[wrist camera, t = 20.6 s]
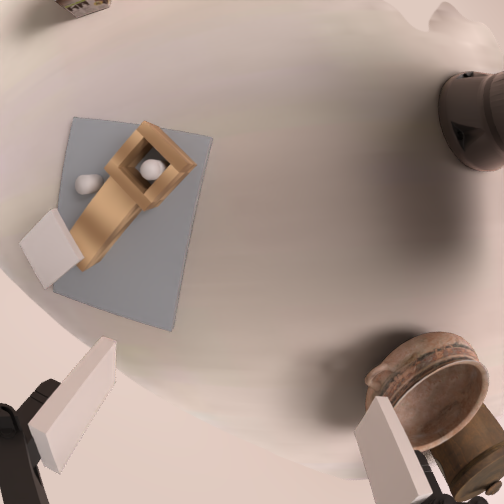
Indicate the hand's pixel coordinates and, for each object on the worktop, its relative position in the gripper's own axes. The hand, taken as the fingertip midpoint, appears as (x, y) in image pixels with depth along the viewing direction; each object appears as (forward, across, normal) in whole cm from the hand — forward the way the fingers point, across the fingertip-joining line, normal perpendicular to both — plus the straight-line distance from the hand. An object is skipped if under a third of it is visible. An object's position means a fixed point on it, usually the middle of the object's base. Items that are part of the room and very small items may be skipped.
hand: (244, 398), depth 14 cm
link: (+25, -17, +3) cm, 31 cm away
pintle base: (+27, -19, 0) cm, 33 cm away
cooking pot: (+27, +29, -12) cm, 41 cm away
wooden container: (+27, +50, -25) cm, 62 cm away
